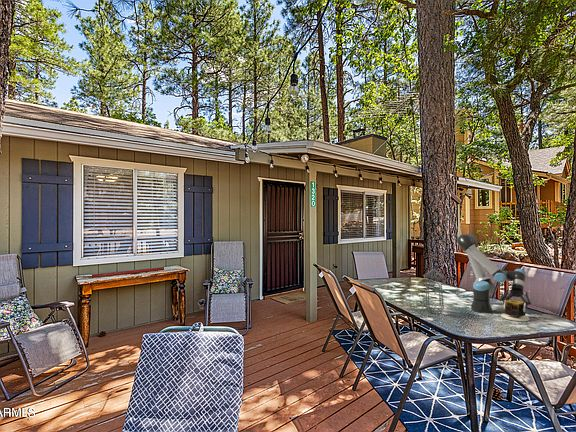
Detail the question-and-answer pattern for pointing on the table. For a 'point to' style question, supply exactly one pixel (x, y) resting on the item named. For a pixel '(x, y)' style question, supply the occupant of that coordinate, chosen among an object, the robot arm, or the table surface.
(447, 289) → the table surface
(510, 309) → the mossy brown cube
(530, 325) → the table surface
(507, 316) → the saucer
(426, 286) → the geometric lantern
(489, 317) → the table surface
